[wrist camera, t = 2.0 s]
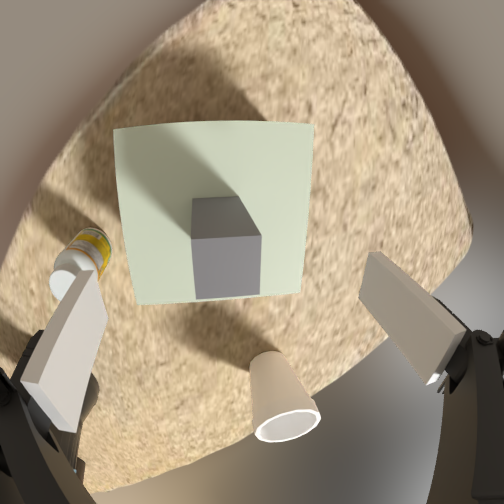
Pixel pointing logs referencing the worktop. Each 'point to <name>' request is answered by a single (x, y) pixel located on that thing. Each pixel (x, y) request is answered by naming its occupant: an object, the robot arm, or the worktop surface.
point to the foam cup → (279, 400)
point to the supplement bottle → (80, 259)
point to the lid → (214, 208)
